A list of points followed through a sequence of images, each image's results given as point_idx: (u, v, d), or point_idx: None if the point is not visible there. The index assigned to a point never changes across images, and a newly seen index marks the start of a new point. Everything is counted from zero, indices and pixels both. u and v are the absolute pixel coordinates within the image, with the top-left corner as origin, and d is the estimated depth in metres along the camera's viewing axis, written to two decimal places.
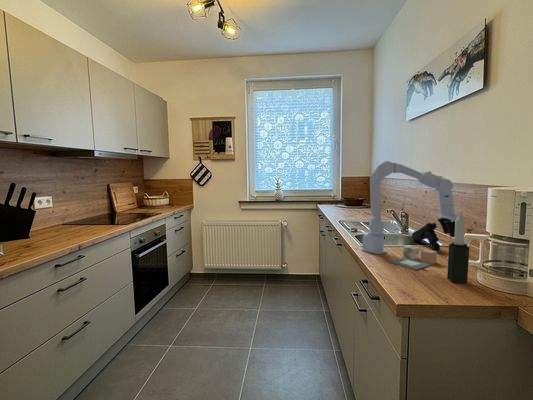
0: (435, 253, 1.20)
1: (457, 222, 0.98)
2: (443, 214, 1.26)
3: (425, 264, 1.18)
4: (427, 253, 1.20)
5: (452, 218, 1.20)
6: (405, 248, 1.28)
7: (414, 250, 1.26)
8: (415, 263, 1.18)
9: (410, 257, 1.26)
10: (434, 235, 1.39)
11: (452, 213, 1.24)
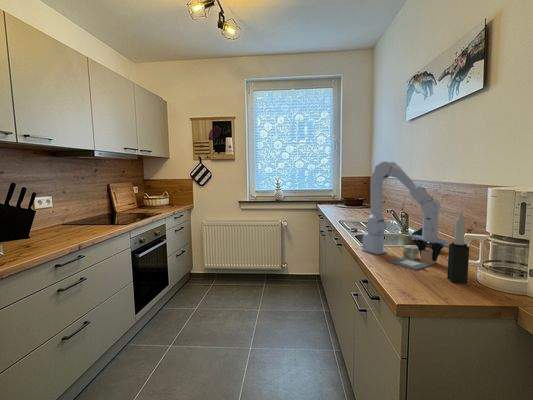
0: None
1: (457, 222, 0.98)
2: (431, 237, 1.18)
3: (425, 264, 1.18)
4: (427, 253, 1.20)
5: (447, 242, 1.14)
6: (405, 248, 1.28)
7: (414, 250, 1.26)
8: (415, 263, 1.18)
9: (410, 257, 1.26)
10: None
11: (437, 237, 1.19)
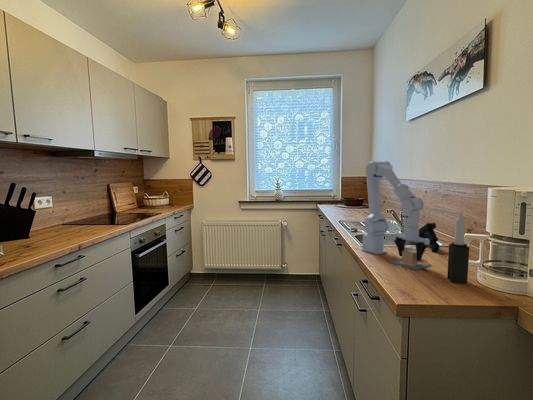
0: (416, 253, 1.18)
1: (457, 222, 0.98)
2: (412, 236, 1.16)
3: (425, 264, 1.18)
4: (408, 253, 1.18)
5: (427, 241, 1.12)
6: (405, 248, 1.28)
7: (414, 250, 1.26)
8: None
9: None
10: (434, 235, 1.39)
11: (418, 235, 1.17)
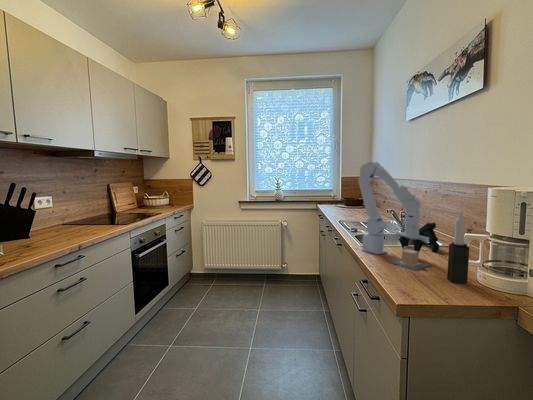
0: (416, 253, 1.18)
1: (457, 222, 0.98)
2: (412, 234, 1.25)
3: (425, 264, 1.18)
4: (408, 253, 1.18)
5: (427, 239, 1.21)
6: (405, 248, 1.28)
7: None
8: None
9: None
10: (433, 235, 1.39)
11: (418, 233, 1.26)
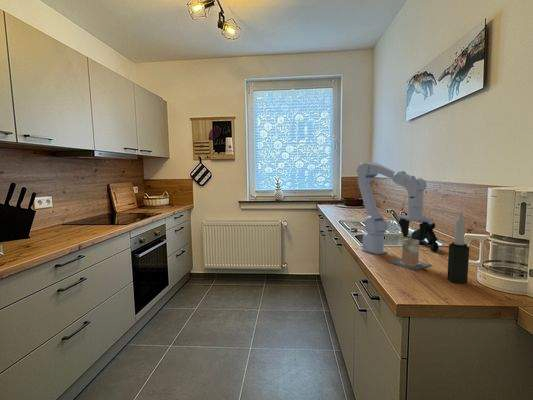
0: (416, 253, 1.18)
1: (457, 222, 0.98)
2: (416, 216, 1.18)
3: (425, 264, 1.18)
4: (408, 253, 1.18)
5: (431, 220, 1.14)
6: (404, 241, 1.19)
7: (414, 243, 1.16)
8: None
9: (410, 250, 1.17)
10: (433, 235, 1.40)
11: None
